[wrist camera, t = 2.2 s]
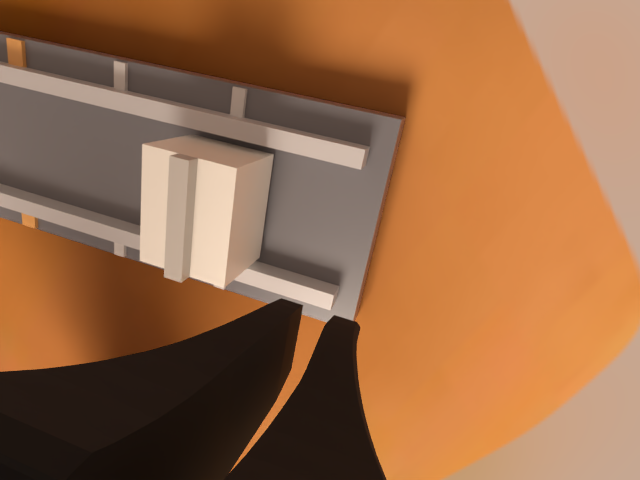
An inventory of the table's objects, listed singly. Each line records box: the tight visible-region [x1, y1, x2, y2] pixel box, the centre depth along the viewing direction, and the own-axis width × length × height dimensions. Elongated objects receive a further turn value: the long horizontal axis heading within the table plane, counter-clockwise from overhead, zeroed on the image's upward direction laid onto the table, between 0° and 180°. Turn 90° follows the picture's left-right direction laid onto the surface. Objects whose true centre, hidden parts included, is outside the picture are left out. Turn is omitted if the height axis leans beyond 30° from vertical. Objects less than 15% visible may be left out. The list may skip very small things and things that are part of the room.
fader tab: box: [140, 134, 274, 288], centre depth 19 cm, size 5×4×4 cm
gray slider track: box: [0, 31, 406, 322], centre depth 22 cm, size 10×26×2 cm, turn 80°
